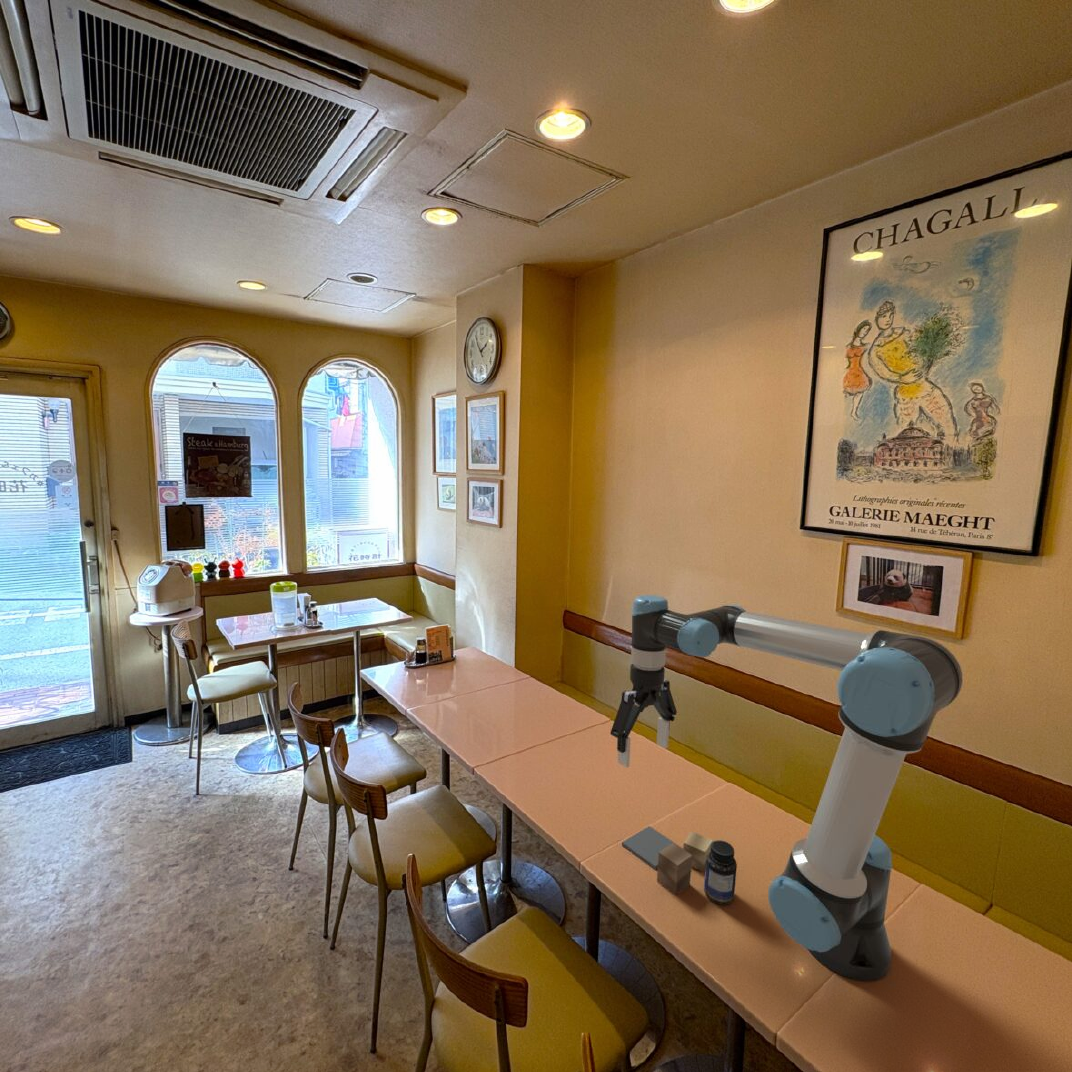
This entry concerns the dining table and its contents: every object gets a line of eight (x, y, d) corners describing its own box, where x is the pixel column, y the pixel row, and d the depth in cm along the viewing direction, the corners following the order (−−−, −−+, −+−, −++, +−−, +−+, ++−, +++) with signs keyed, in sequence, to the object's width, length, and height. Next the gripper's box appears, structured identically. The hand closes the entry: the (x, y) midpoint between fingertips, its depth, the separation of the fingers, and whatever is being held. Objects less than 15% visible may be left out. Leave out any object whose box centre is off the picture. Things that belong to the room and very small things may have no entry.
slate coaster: (682, 851, 133) (682, 848, 133) (655, 869, 127) (655, 866, 127) (649, 828, 141) (649, 825, 141) (621, 845, 135) (621, 842, 134)
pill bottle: (710, 879, 124) (714, 833, 123) (738, 893, 121) (742, 846, 119) (699, 895, 120) (702, 848, 118) (727, 911, 116) (731, 862, 114)
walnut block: (689, 884, 123) (692, 855, 122) (675, 895, 120) (677, 865, 119) (671, 871, 127) (673, 842, 126) (656, 881, 123) (658, 852, 122)
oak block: (711, 859, 131) (712, 840, 130) (703, 872, 127) (705, 852, 126) (690, 850, 134) (691, 831, 133) (682, 862, 130) (683, 842, 129)
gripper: (668, 649, 137) (664, 733, 140) (596, 672, 121) (593, 765, 124) (694, 658, 131) (690, 744, 134) (622, 682, 115) (618, 780, 118)
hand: (643, 755), depth 129 cm, fingers open, 13 cm apart
